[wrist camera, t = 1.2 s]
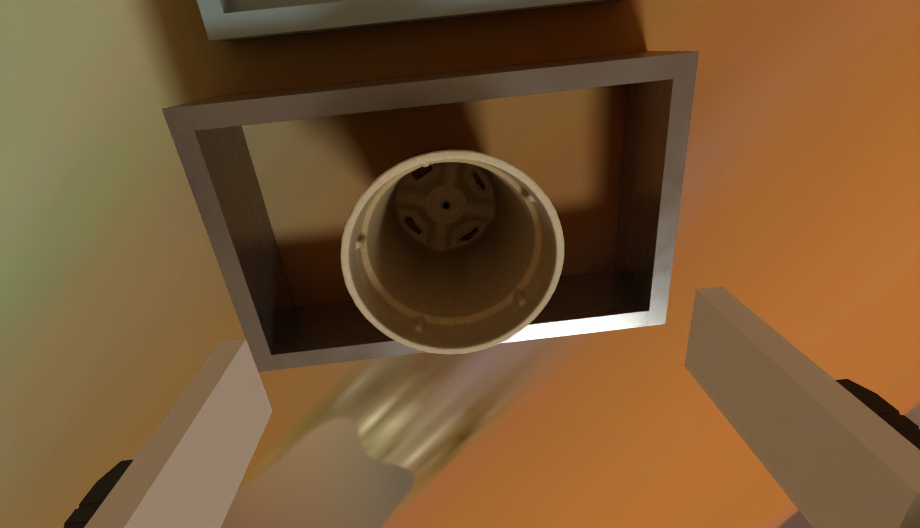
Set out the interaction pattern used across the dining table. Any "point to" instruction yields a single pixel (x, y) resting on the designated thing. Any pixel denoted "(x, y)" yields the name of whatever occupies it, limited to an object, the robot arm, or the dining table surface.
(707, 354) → the robot arm
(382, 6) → the tray
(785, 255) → the dining table surface
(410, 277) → the flower pot
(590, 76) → the metal holder
